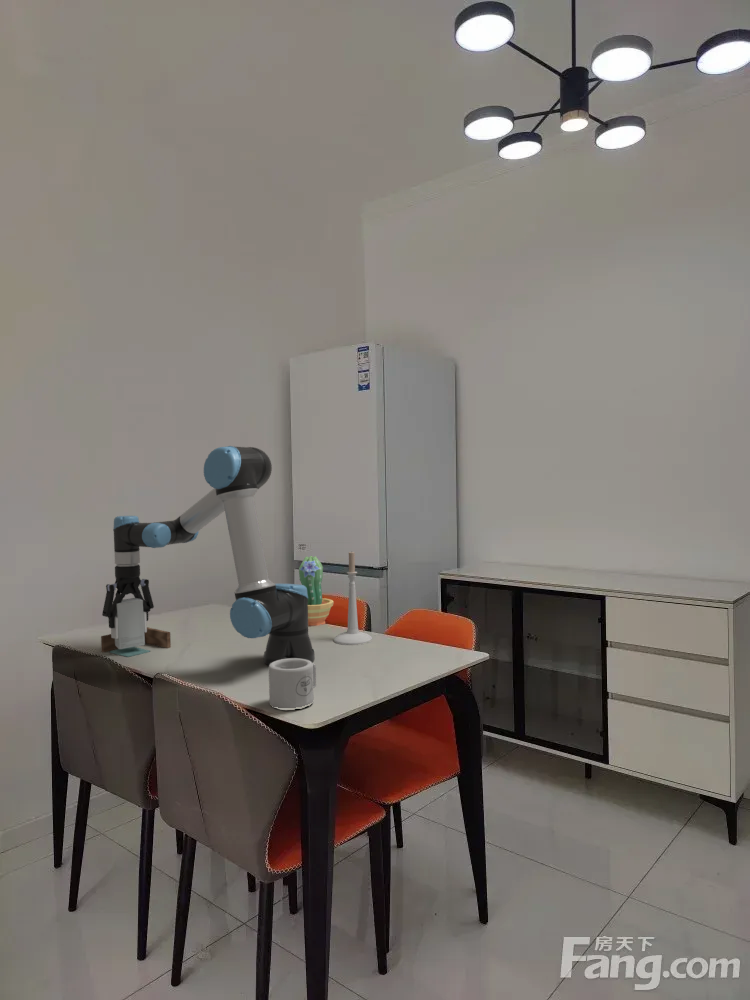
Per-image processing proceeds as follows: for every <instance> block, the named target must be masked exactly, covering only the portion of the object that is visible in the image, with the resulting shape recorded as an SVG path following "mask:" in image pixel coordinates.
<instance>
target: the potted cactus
mask: <svg viewBox="0 0 750 1000" xmlns="http://www.w3.org/2000/svg"><path fill="white" fill-rule="evenodd" d="M323 574H324V567H323V564H322V563H321V561H320V560H319V559H318V557H317V555H315V556H312V555H310V556H305V557H304V559H303V560H302V562H301V564H300V566H299V567H298V575H299V577H298V578H299V582H300V585H304V586H305V587H306V588H307V594H308V627H311V626H313V627H314V626H321V625H320V624H322V625H324V624H326V619H327V618H328V617H329V614H330V612H331V609H332V607H333V606H334V604H335V603H334V600H333V599H330V598H325V597H324V598H323V591H322V581H323V577H324V576H323Z"/></svg>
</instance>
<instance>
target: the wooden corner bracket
mask: <svg viewBox="0 0 750 1000" xmlns="http://www.w3.org/2000/svg"><path fill="white" fill-rule="evenodd" d="M144 636H145V644H149V645H153V646H156V647H157V646H158V647H161V648H166V649H170V648H171V647H172V646H171V645H172V643H171V632H170V631H165V630H162V629H158V628H152V627H148V626H147V632H144ZM100 642H101V643H100V645H101V648H100V649H101V652H102V653H106V652H110V651H114V650H118V648H117V647H116V646H115V638H111V633H109V634H106V635H101V636H100Z"/></svg>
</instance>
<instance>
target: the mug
mask: <svg viewBox="0 0 750 1000" xmlns="http://www.w3.org/2000/svg"><path fill="white" fill-rule="evenodd" d="M268 686H269V689H268V690H269V691H268V693H269V698H268V699H269V700H268V702H269V706H270V705H271V706H273V707H278V708H296V707H302V706H305V705H308V704H310V703H312V702H313V700H314V698H315V697H314V689H315V687H317V665H316V664H315V663H314V662H311V661H309V660H306V659H300V658H288V659H281V660H277V661H274V662H272V663H271V664H270V665H268ZM313 703H314V702H313ZM273 707H272V708H273Z"/></svg>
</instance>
